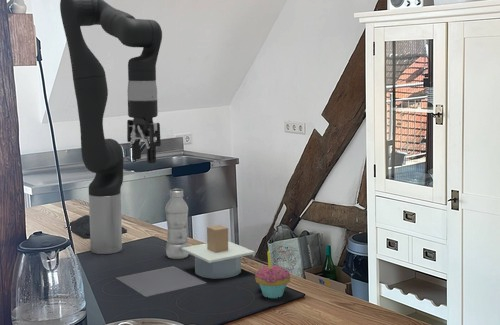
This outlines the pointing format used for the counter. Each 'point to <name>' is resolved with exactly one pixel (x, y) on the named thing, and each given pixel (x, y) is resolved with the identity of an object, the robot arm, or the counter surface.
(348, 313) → the counter surface
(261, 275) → the cupcake
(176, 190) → the plastic bottle
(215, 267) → the bowl
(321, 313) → the counter surface
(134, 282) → the mat
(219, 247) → the lid
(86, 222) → the dark slate chunk
